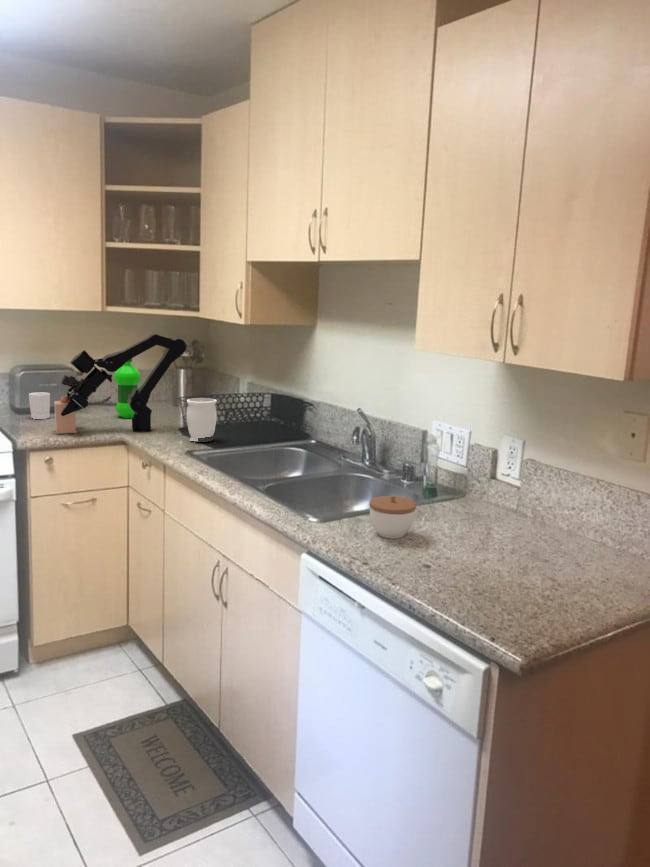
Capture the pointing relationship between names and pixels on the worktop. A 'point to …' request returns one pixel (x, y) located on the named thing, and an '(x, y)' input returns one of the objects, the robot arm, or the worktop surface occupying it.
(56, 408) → the pink square bottle
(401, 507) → the lidded jar
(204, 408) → the jar
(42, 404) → the white cup
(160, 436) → the worktop surface
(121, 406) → the plastic bottle
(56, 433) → the grey curved piece
